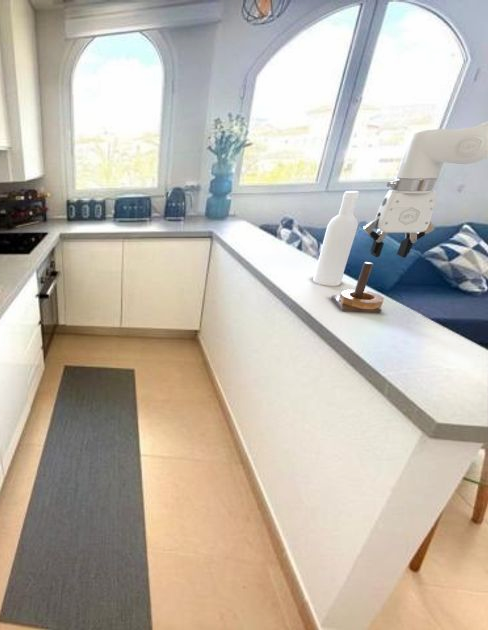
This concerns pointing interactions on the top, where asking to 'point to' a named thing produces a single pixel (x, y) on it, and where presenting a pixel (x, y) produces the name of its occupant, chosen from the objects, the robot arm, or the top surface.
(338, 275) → the bottle
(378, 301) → the ring
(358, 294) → the wooden peg stand
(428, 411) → the top surface
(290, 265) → the top surface
